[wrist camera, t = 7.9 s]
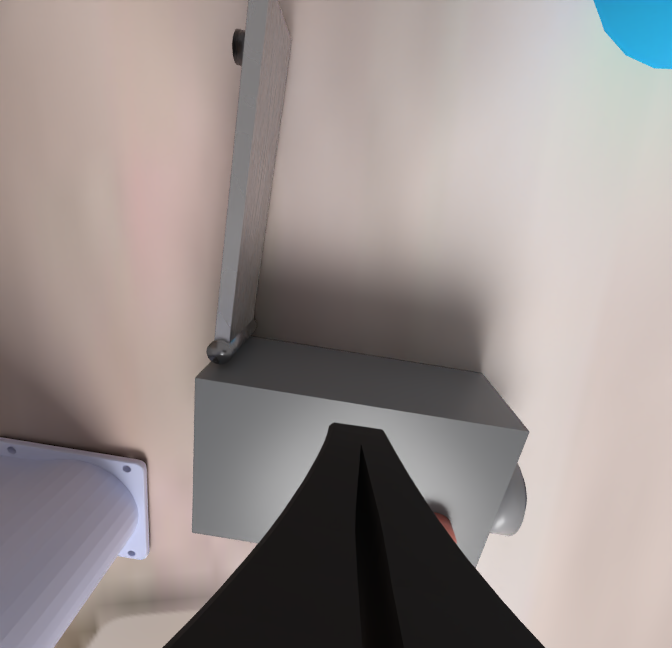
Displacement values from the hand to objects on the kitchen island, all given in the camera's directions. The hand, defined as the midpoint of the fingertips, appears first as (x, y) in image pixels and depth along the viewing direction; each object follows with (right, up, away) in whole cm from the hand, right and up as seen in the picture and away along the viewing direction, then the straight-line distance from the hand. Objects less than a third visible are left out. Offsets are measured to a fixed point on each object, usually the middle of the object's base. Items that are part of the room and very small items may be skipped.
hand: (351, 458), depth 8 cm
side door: (-4, +9, +7) cm, 12 cm away
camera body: (0, -2, +10) cm, 11 cm away
